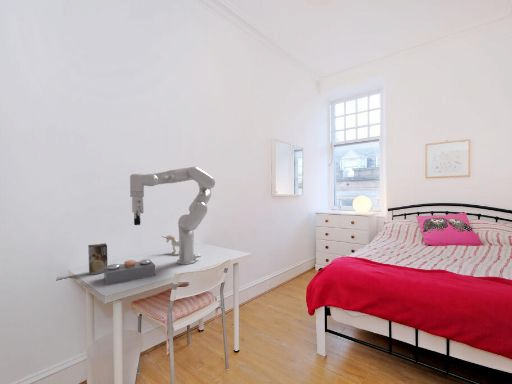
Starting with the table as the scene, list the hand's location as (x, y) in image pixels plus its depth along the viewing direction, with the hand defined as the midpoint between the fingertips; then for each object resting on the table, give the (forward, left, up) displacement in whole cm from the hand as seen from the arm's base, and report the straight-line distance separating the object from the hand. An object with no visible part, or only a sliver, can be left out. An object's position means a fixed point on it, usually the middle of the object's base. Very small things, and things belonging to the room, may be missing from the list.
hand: (137, 224), depth 157 cm
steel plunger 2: (-2, +11, -25) cm, 28 cm away
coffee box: (+20, -7, -27) cm, 35 cm away
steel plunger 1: (+14, +11, -26) cm, 31 cm away
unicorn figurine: (-30, -21, -27) cm, 46 cm away
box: (+6, +12, -27) cm, 30 cm away
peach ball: (+6, +11, -25) cm, 28 cm away
